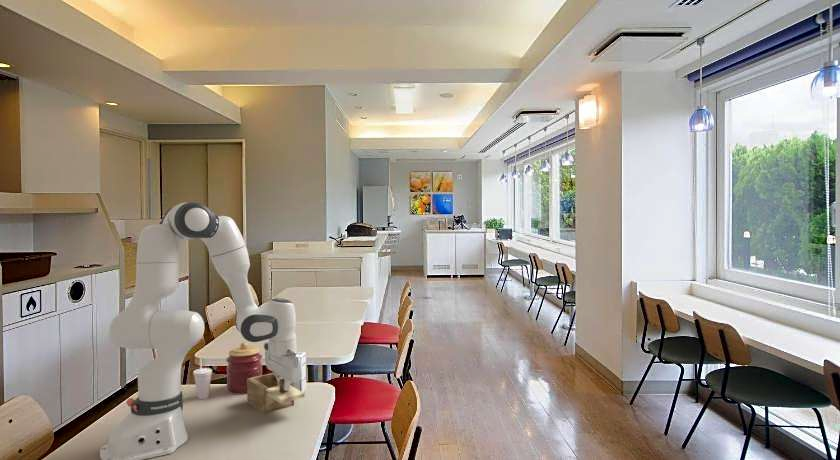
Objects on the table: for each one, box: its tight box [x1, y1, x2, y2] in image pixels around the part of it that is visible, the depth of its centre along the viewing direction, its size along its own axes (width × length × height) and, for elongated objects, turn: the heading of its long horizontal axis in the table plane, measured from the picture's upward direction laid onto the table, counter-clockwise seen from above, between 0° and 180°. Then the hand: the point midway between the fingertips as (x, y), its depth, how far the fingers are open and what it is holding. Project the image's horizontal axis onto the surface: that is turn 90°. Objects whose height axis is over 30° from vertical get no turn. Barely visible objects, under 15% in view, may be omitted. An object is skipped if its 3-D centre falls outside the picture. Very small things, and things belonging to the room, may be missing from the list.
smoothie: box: [192, 358, 213, 400], centre depth 188 cm, size 6×6×14 cm
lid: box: [266, 378, 305, 403], centre depth 172 cm, size 8×13×5 cm
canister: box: [225, 341, 263, 395], centre depth 196 cm, size 13×13×18 cm
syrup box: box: [294, 351, 307, 394], centre depth 192 cm, size 6×6×14 cm
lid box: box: [246, 372, 295, 414], centre depth 181 cm, size 11×14×8 cm
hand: (283, 388), depth 172 cm, fingers closed on lid, 3 cm apart
